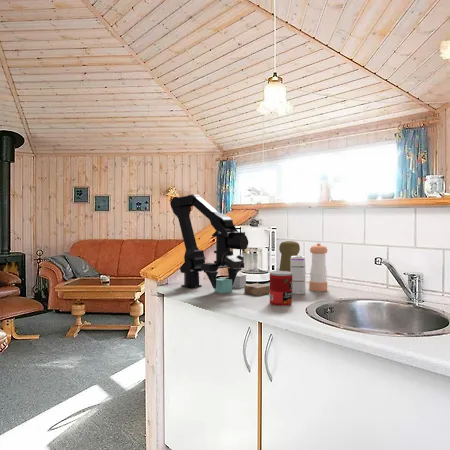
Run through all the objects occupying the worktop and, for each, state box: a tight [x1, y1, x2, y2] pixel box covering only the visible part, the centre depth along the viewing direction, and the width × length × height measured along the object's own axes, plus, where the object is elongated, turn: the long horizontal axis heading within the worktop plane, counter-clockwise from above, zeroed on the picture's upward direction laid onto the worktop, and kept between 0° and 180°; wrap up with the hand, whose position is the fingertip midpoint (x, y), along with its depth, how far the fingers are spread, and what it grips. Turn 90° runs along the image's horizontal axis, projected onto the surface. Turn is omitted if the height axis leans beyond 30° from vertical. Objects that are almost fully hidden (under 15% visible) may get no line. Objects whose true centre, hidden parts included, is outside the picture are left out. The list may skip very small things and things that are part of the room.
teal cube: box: [214, 277, 233, 294], centre depth 162 cm, size 5×5×5 cm
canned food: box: [269, 270, 293, 307], centre depth 142 cm, size 8×8×11 cm
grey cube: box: [232, 273, 247, 289], centre depth 174 cm, size 5×5×5 cm
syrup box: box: [290, 255, 306, 295], centre depth 161 cm, size 6×6×14 cm
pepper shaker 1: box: [278, 240, 301, 272], centre depth 179 cm, size 10×10×19 cm
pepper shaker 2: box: [308, 242, 328, 292], centre depth 167 cm, size 7×7×19 cm
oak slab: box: [243, 282, 270, 297], centre depth 160 cm, size 7×7×3 cm
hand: (223, 287), depth 163 cm, fingers open, 9 cm apart
